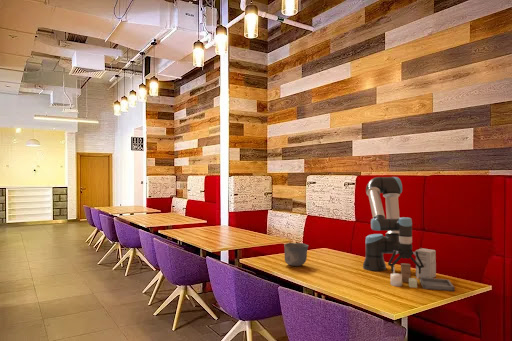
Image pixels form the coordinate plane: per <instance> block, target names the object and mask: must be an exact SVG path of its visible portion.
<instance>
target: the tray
mask: <svg viewBox="0 0 512 341" xmlns="http://www.w3.org/2000/svg"><path fill="white" fill-rule="evenodd" d="M419 282H420V285H421V287H422V289H423V290H434V291H447V292H448V291H449V292H455V290H456V289H455V285H453V283H452V282H451V281H450V279H444V278H435V277H434V278H421V277H419Z"/></svg>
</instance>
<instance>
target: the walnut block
mask: <svg viewBox="0 0 512 341" xmlns="http://www.w3.org/2000/svg"><path fill="white" fill-rule="evenodd" d="M411 267H412V266H411V264H410V263H403V262H402V263H400V274H402V283H409V278H412V277H411V273H412V272H411V271H412V270H411Z"/></svg>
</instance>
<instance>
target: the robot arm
mask: <svg viewBox="0 0 512 341" xmlns="http://www.w3.org/2000/svg"><path fill="white" fill-rule="evenodd" d="M402 192H403V183H402V180H401V179H400V178H399V177H398V176H376V177H373V178H371V179H370V180H369V181H368V183H367V184H366V187H365V193H366V196H368V200H369V205H370V210H371V215H372V218H371V219H370V228H371V230H372V231H379V232H381V231H385V232H386V231H387V232H386V233H385V236H384V235H383V234H382V233H373V234H372V233H371V234H368V235H367V236H365V256H364V257H365V258H364V261H363V265H362V269H364V270H367V271H373V272H384V271H386V270H387V265H388V266H390V271H391V272H392V273H396V271H395V269H396V268H395V265H396V264H397V263H398V262H399V261H400V260H401V259H407V260H409V259H410V260H411V261H412V263H414V264H415V266H416V265H417V267H418V268H417V277H416V280H420V277H419V274H420V273H421V268H424V265H423V264H422V262H421V260H420V258H419V256H418V252H417V251H416V250H415V251H413V244H412V243H413V219H412V218H411V217H408V216H407V217H405V216H402V217H400V208H399V207H400V206H399V197H400V196H401V194H402ZM381 194H382V197H383V198H385V211H384V207H383V203H382V199H381ZM385 213H386V214H385ZM384 254H385V255H386V254H390V255H391V257H390V259H389V261H388V262H387V265H386V261H385V259H384ZM396 255H398V256H397V258H395V257H396ZM413 255H414V256H415V258H416V257H417V259H418V260H419V262H420V264H421V265H419V264H418V263H417V262H416V259H415V258H413Z"/></svg>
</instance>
